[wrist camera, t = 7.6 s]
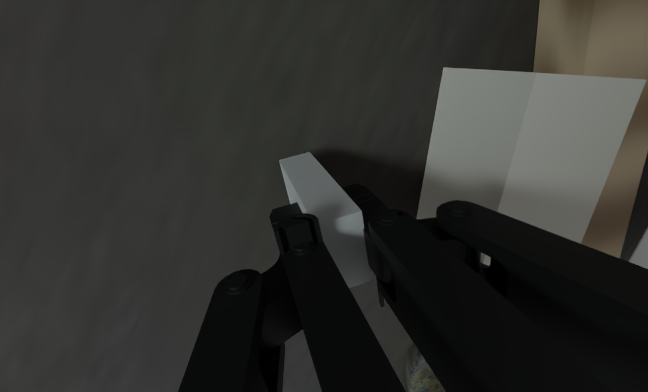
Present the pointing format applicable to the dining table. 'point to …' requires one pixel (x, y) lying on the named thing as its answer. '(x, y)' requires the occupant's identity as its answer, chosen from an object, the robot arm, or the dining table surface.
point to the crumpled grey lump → (420, 373)
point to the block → (526, 144)
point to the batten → (603, 61)
